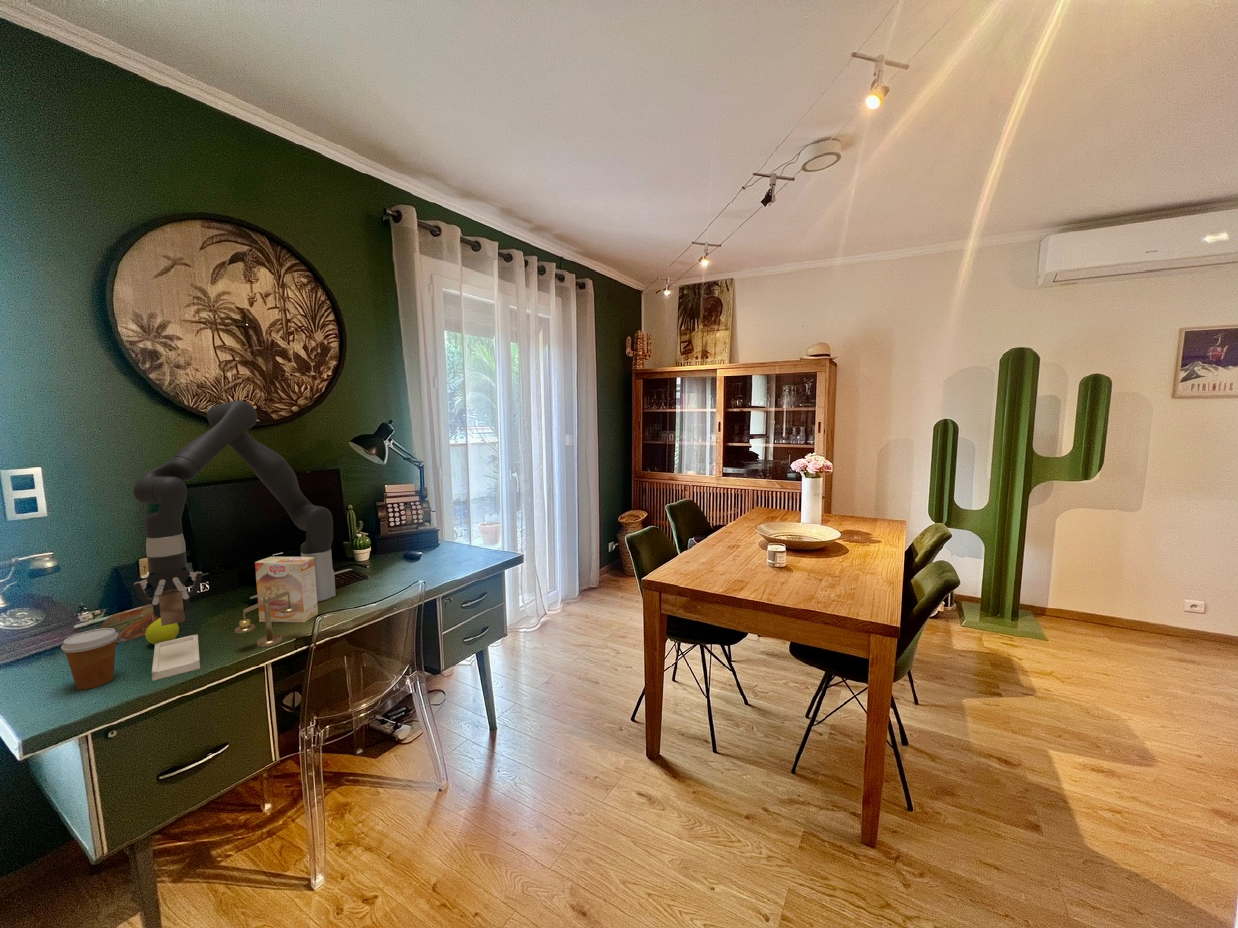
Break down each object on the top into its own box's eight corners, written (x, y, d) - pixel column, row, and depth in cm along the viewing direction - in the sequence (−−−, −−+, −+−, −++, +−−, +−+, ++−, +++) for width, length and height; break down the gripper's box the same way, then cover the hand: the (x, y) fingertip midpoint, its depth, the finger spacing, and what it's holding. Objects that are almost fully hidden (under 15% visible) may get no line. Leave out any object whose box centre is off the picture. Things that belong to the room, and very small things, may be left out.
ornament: (176, 635, 147) (172, 603, 146) (183, 641, 143) (180, 608, 142) (143, 644, 141) (139, 611, 140) (150, 651, 137) (146, 617, 136)
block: (184, 616, 135) (181, 587, 134) (184, 621, 131) (181, 592, 131) (162, 620, 132) (159, 591, 131) (161, 626, 129) (158, 596, 128)
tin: (104, 647, 140) (101, 619, 139) (100, 645, 141) (96, 617, 140) (171, 627, 153) (168, 600, 152) (166, 625, 154) (164, 599, 154)
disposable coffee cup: (72, 697, 115) (66, 648, 114) (61, 685, 120) (56, 638, 119) (128, 678, 123) (123, 632, 122) (116, 668, 128) (111, 624, 127)
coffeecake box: (258, 622, 156) (253, 562, 154) (275, 613, 163) (270, 555, 161) (304, 622, 156) (300, 562, 154) (318, 613, 163) (315, 556, 161)
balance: (299, 631, 149) (295, 586, 148) (302, 638, 145) (299, 591, 143) (235, 647, 139) (231, 599, 138) (237, 654, 135) (233, 605, 133)
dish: (198, 640, 144) (197, 634, 143) (200, 668, 128) (199, 660, 128) (155, 650, 138) (155, 643, 137) (152, 680, 122) (151, 673, 122)
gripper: (201, 544, 137) (206, 603, 139) (129, 553, 128) (136, 617, 130) (202, 549, 132) (207, 611, 133) (127, 560, 122) (134, 626, 124)
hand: (172, 614), depth 131 cm, fingers closed on block, 4 cm apart
